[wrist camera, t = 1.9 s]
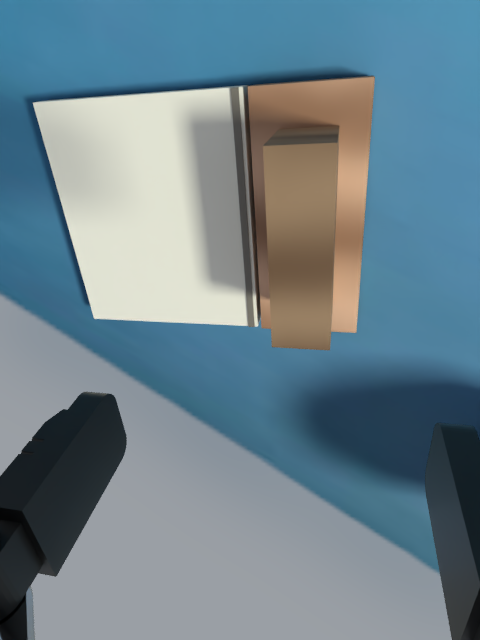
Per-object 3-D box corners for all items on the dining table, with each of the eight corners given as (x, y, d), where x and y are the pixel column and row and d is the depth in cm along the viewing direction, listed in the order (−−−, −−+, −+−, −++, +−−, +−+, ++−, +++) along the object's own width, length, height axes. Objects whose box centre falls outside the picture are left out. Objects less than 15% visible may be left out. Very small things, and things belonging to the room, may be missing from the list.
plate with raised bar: (253, 84, 23) (223, 94, 17) (373, 75, 21) (381, 82, 16) (265, 316, 30) (246, 375, 24) (355, 320, 28) (357, 383, 23)
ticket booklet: (48, 100, 25) (31, 102, 24) (248, 85, 23) (242, 86, 21) (103, 308, 32) (93, 319, 31) (261, 315, 30) (257, 327, 29)
